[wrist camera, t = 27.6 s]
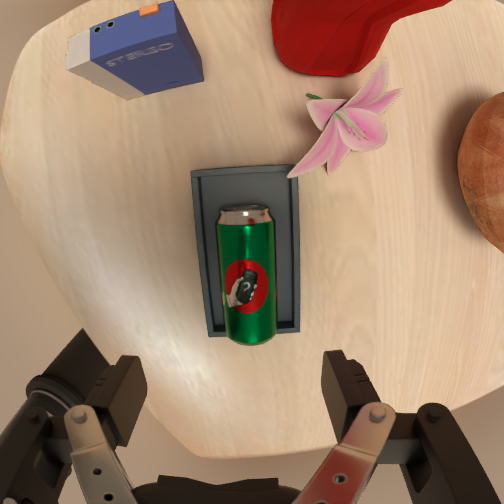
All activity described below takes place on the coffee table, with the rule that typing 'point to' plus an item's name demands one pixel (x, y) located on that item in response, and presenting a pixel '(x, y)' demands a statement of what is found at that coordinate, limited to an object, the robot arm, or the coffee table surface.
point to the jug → (485, 169)
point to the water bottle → (336, 31)
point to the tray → (287, 233)
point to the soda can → (248, 272)
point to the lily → (349, 122)
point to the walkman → (137, 52)
